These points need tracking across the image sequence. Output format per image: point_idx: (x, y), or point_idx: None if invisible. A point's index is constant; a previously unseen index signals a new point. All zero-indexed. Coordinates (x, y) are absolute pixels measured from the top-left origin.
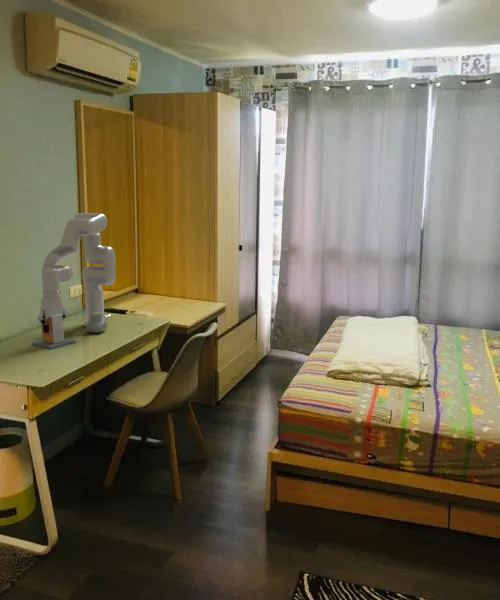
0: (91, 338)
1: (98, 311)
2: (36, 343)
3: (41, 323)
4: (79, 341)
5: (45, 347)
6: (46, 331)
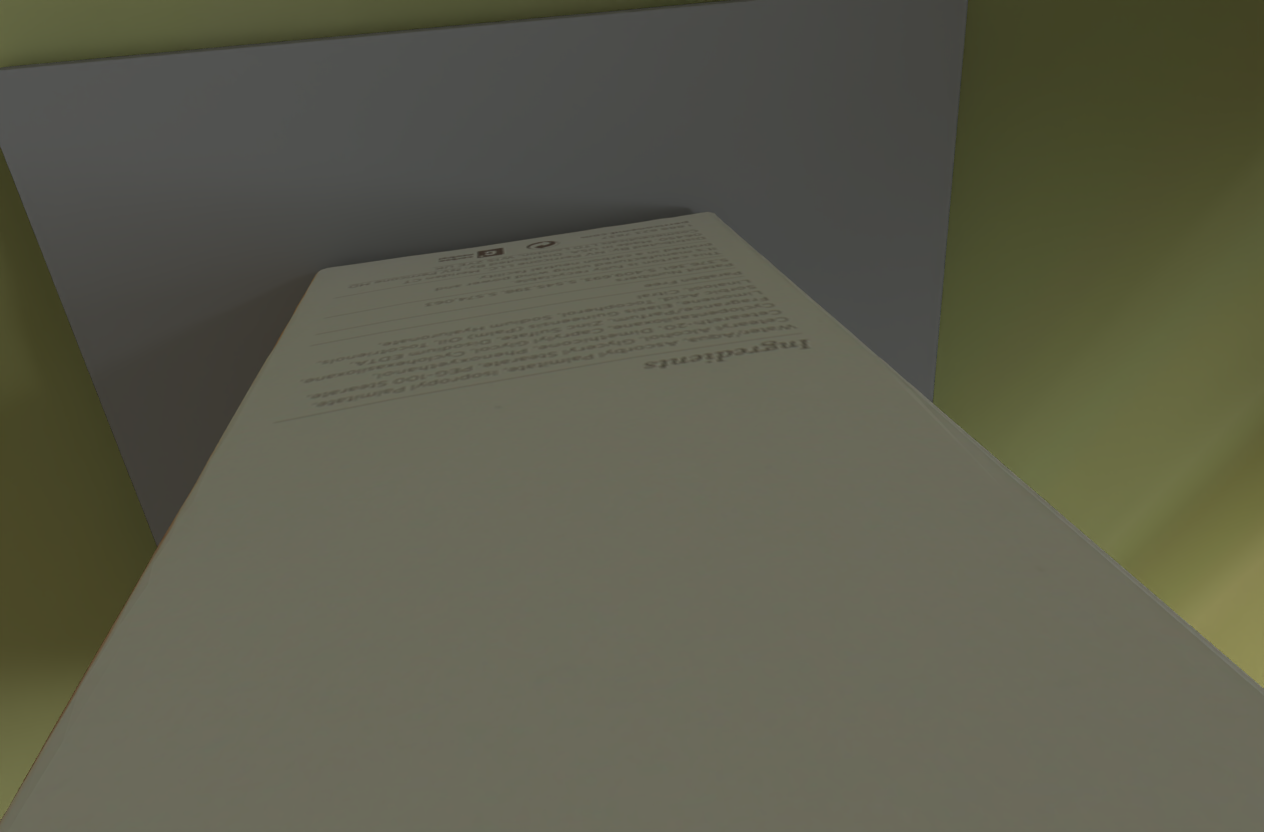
0: (1241, 590)
1: None
2: (65, 304)
3: (97, 694)
4: None
5: None
6: None
